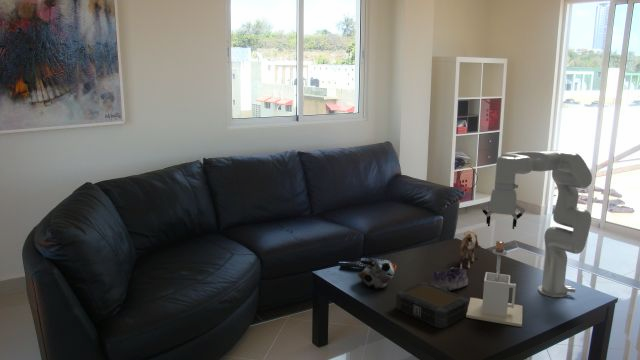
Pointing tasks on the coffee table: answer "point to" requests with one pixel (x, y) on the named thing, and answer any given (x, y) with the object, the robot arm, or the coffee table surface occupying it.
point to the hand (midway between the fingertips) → (500, 226)
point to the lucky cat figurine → (378, 274)
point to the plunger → (499, 256)
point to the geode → (450, 279)
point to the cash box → (432, 304)
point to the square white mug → (496, 302)
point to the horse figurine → (468, 246)
